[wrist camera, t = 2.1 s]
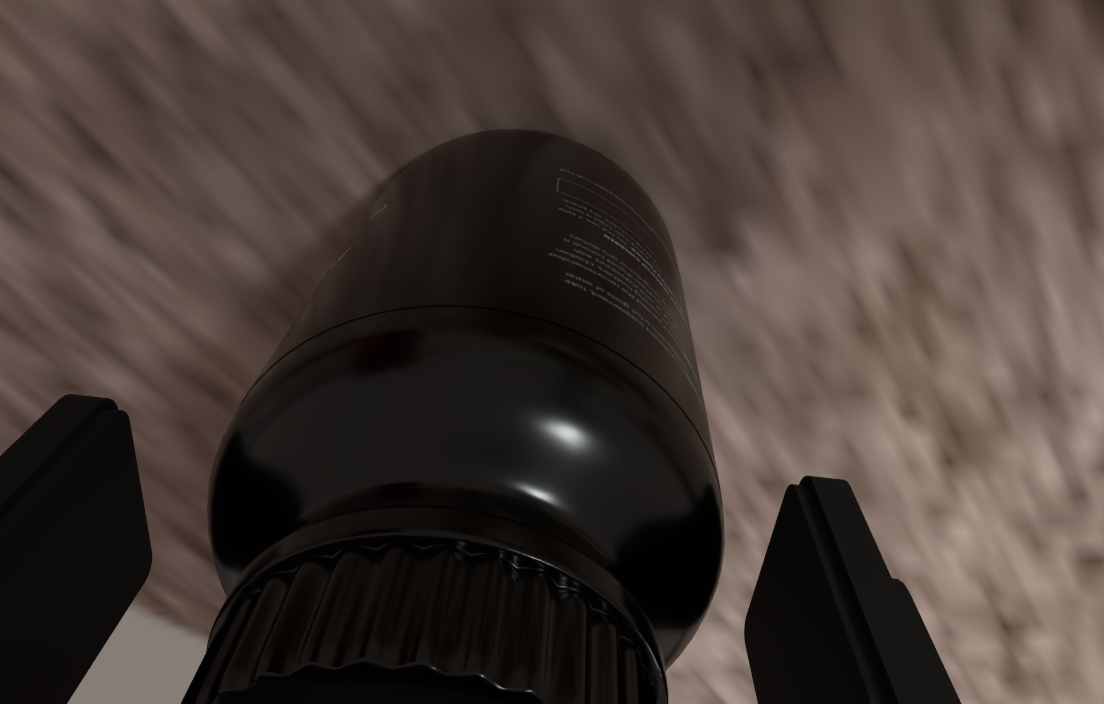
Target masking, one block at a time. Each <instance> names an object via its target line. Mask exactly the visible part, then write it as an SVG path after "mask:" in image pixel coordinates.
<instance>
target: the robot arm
mask: <svg viewBox="0 0 1104 704" xmlns="http://www.w3.org/2000/svg"><path fill="white" fill-rule="evenodd" d="M151 564H152V550H151V544H150V538H149V532H148V526H147V520H146V514H145V508H144V502H143V497H142V491H141V485H140V479H139V473H138V467H137V461H136V455H135V449H134V443H133V437H132V431H131V425H130V420H129V416H128V414H127V413H126V412H125V411H123V410H118V407H117V405H116V403H115V402H114V401H113V400H111V399H109V398H100V397H91V396H82V395H73V394H69V395H65V396H63V397H62V398H60V399H59V400H58V401H57V402H56V403H55V404H54V405H53V406H52V407H51V408H50V409H49V410H48V411H47V412H46V413H45V414H44V415H43V416H42V417H41V418H39V419H38V420H37V421H36V422H35V423H34V424H33V425H32V426H31V427H30V428H29V429H28V430H27V431H26V432H25V433H24V434H23V435H22V436H21V437H20V438H19V439H18V440H17V441H16V442H14V443H13V444H12V445H11V446H10V447H9V448H8V449H7V450H6V451H5V452H4V453H3V454H2V455H1V456H0V704H67V703H68V701H69V700H70V698H71V696H72V695H73V693H74V692H75V690H76V689H77V687H78V686H79V684H80V682H81V681H82V679H83V678H84V676H85V675H86V673H87V671H88V670H89V668H90V667H91V665H92V663H93V662H94V661H95V659H96V657H97V656H98V654H99V653H100V651H101V650H102V648H103V646H104V645H105V643H106V642H107V640H108V638H109V637H110V635H111V634H112V632H113V631H114V629H115V628H116V626H117V625H118V623H119V621H120V620H121V618H122V617H123V615H124V614H125V612H126V611H127V609H128V607H129V606H130V604H131V603H132V601H133V600H134V598H135V597H136V595H137V593H138V592H139V590H140V589H141V587H142V586H143V584H144V582H145V581H146V579H147V577H148V575H149V572H150V568H151ZM744 637H745V645H746V650H747V655H748V659H749V664H750V669H751V673H752V678H753V682H754V687H755V692H756V696H757V701H758V704H961V702H960V700H959V698H958V695H957V693H956V691H955V689H954V687H953V685H952V683H951V680H950V678H949V676H948V674H947V672H946V670H945V668H944V665H943V663H942V661H941V659H940V657H939V655H938V653H937V650H936V648H935V646H934V644H933V642H932V640H931V638H930V635H929V633H928V631H927V629H926V627H925V625H924V622H923V620H922V618H921V616H920V614H919V612H918V610H917V607H916V605H915V603H914V601H913V599H912V597H911V595H910V593H909V591H908V589H907V588H906V586H905V585H904V583H902V582H901V581H900V580H898V579H893V578H891V576H890V573H889V571H888V569H887V567H886V564H885V562H884V560H883V558H882V556H881V553H880V551H879V549H878V547H877V544H876V542H875V540H874V538H873V536H872V533H871V531H870V529H869V527H868V524H867V522H866V520H865V518H864V516H863V513H862V511H861V509H860V507H859V504H858V502H857V500H856V498H855V496H854V493H853V491H852V489H851V487H850V485H849V483H848V482H847V481H845V480H841V479H832V478H823V477H814V476H805V477H803V479H802V480H801V481H800V484H799V485H794V484H791V485H789V486H788V488H787V490H786V492H785V495H784V498H783V501H782V504H781V508H780V511H779V514H778V517H777V520H776V524H775V527H774V530H773V533H772V536H771V539H770V543H769V546H768V549H767V552H766V555H765V558H764V562H763V565H762V568H761V571H760V574H759V577H758V581H757V584H756V587H755V590H754V593H753V596H752V600H751V603H750V606H749V609H748V612H747V616H746V620H745V628H744Z"/></svg>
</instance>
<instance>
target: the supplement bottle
mask: <svg viewBox="0 0 1104 704" xmlns="http://www.w3.org/2000/svg"><path fill="white" fill-rule="evenodd" d="M207 512H208V529H209V538H210V544H211V549H212V554H213V559H214V563H215V566H216V569H217V572H218V576H219V579H220V582H221V584H222V587H223V589H224V591H225V593H226V596H227V598H226V600H225V602H224V604H223V606H222V608H221V610H220V612H219V614H218V616H217V618H216V620H215V622H214V625H213V627H212V630H211V633H210V636H209V640H208V644H207V651H206V654H205V656H204V658H203V660H202V662H201V664H200V666H199V668H198V670H197V672H196V674H195V676H194V678H193V680H192V682H191V684H190V686H189V688H188V690H187V692H186V694H185V696H184V698H183V700H182V703H181V704H668V687H667V679H666V670H667V669H668V668H669V667H670V666H671V665H672V664H673V663H674V661H675V660H676V659H677V658H678V657H679V656H680V655H681V653H682V652H683V651H684V649H685V648H686V647H687V645H688V644H689V642H690V641H691V640H692V638H693V637H694V635H695V634H696V632H697V630H698V628H699V626H700V624H701V623H702V621H703V619H704V617H705V615H706V613H707V611H708V609H709V606H710V604H711V601H712V599H713V596H714V594H715V591H716V589H717V585H718V581H719V577H720V573H721V569H722V563H723V554H724V546H725V536H724V515H723V505H722V498H721V491H720V484H719V479H718V473H717V467H716V462H715V457H714V451H713V446H712V441H711V435H710V430H709V425H708V420H707V414H706V409H705V404H704V399H703V393H702V388H701V383H700V377H699V372H698V367H697V362H696V356H695V351H694V346H693V341H692V335H691V330H690V325H689V320H688V314H687V309H686V304H685V298H684V293H683V288H682V283H681V277H680V273H679V269H678V265H677V260H676V256H675V252H674V249H673V245H672V241H671V239H670V236H669V234H668V231H667V229H666V226H665V224H664V222H663V220H662V218H661V216H660V214H659V212H658V210H657V209H656V207H655V206H654V204H653V203H652V201H651V200H650V198H649V197H648V195H647V194H646V193H645V192H644V191H643V189H642V188H641V187H640V186H639V184H638V183H637V182H636V181H635V180H634V179H633V178H632V177H631V176H629V175H628V174H627V173H626V172H625V171H624V170H623V169H621V168H620V167H619V166H618V165H616V164H615V163H614V162H613V161H611V160H609V159H608V158H606V157H605V156H603V155H602V154H600V153H599V152H597V151H595V150H593V149H591V148H589V147H587V146H585V145H583V144H580V143H578V142H575V141H573V140H570V139H567V138H564V137H561V136H557V135H554V134H549V133H544V132H539V131H532V130H521V129H500V130H491V131H483V132H478V133H473V134H469V135H465V136H462V137H459V138H456V139H453V140H450V141H448V142H445V143H443V144H441V145H439V146H436V147H435V148H433V149H431V150H429V151H428V152H426V153H424V154H422V155H421V156H420V157H418V158H417V159H416V160H414V161H413V162H411V163H410V164H409V165H408V166H407V167H406V168H404V169H403V170H402V171H401V172H400V173H399V174H398V175H397V176H396V177H395V178H394V179H393V180H392V181H391V182H390V183H389V184H388V186H387V187H386V188H385V189H384V190H383V192H382V193H381V195H380V196H379V197H378V199H377V200H376V202H375V203H374V204H373V205H372V207H371V208H370V210H369V211H368V212H367V214H366V215H365V217H364V218H363V220H362V221H361V223H360V224H359V226H358V227H357V229H356V230H355V232H354V233H353V235H352V236H351V238H350V239H349V241H348V242H347V244H346V245H345V247H344V248H343V250H342V251H341V253H340V254H339V256H338V257H337V259H336V260H335V262H334V263H333V265H332V266H331V268H330V269H329V271H328V272H327V274H326V275H325V277H324V278H323V280H322V281H321V283H320V284H319V286H318V287H317V289H316V290H315V292H314V293H313V295H312V296H311V298H310V299H309V301H308V302H307V304H306V305H305V307H304V308H303V310H302V311H301V313H300V314H299V316H298V317H297V319H296V320H295V322H294V323H293V325H292V326H291V328H290V329H289V331H288V332H287V334H286V335H285V337H284V338H283V340H282V341H281V343H280V344H279V346H278V347H277V349H276V350H275V352H274V353H273V355H272V356H271V358H270V359H269V361H268V362H267V364H266V365H265V367H264V369H263V370H262V372H261V373H260V375H259V376H258V378H257V379H256V381H255V382H254V384H253V385H252V387H251V388H250V390H249V391H248V393H247V394H246V396H245V397H244V399H243V401H242V402H241V404H240V406H239V408H238V410H237V411H236V413H235V415H234V417H233V419H232V421H231V423H230V425H229V426H228V428H227V430H226V432H225V434H224V436H223V438H222V440H221V443H220V445H219V448H218V451H217V453H216V456H215V459H214V464H213V468H212V473H211V477H210V482H209V491H208V505H207Z"/></svg>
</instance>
